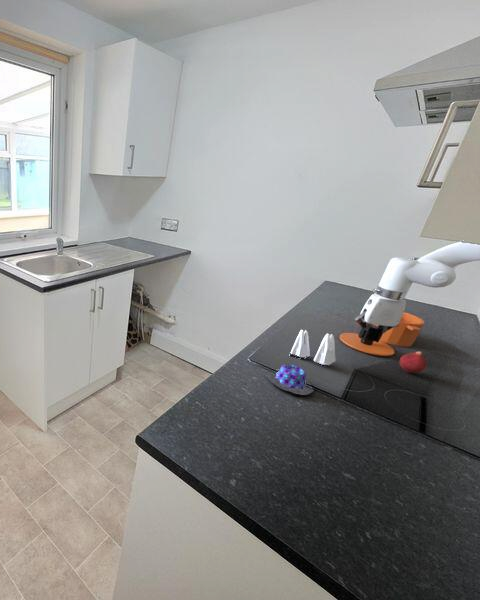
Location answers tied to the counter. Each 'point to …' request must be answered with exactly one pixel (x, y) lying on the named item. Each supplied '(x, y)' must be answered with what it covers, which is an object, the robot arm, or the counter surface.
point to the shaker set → (324, 352)
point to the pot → (403, 331)
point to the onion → (413, 362)
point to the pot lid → (367, 343)
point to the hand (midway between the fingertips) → (368, 339)
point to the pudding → (291, 376)
